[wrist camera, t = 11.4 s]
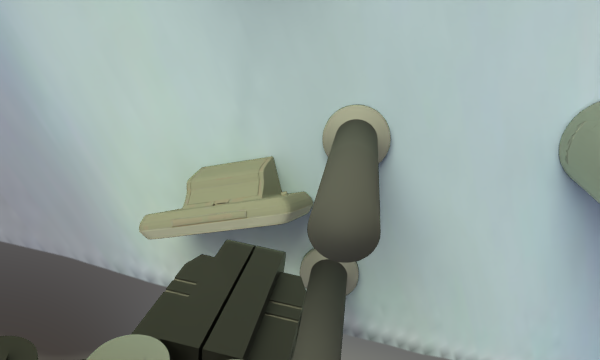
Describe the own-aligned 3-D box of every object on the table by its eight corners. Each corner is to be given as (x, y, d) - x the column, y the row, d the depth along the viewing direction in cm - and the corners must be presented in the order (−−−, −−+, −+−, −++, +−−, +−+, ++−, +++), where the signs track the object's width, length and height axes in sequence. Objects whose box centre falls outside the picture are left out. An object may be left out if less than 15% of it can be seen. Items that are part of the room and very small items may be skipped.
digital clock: (185, 220, 53) (141, 268, 43) (176, 151, 49) (126, 186, 40) (314, 229, 50) (299, 282, 40) (314, 157, 47) (297, 196, 37)
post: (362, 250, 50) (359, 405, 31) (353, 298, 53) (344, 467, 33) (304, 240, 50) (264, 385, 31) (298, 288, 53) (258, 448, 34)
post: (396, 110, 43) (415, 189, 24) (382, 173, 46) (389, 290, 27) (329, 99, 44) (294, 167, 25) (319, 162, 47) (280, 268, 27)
